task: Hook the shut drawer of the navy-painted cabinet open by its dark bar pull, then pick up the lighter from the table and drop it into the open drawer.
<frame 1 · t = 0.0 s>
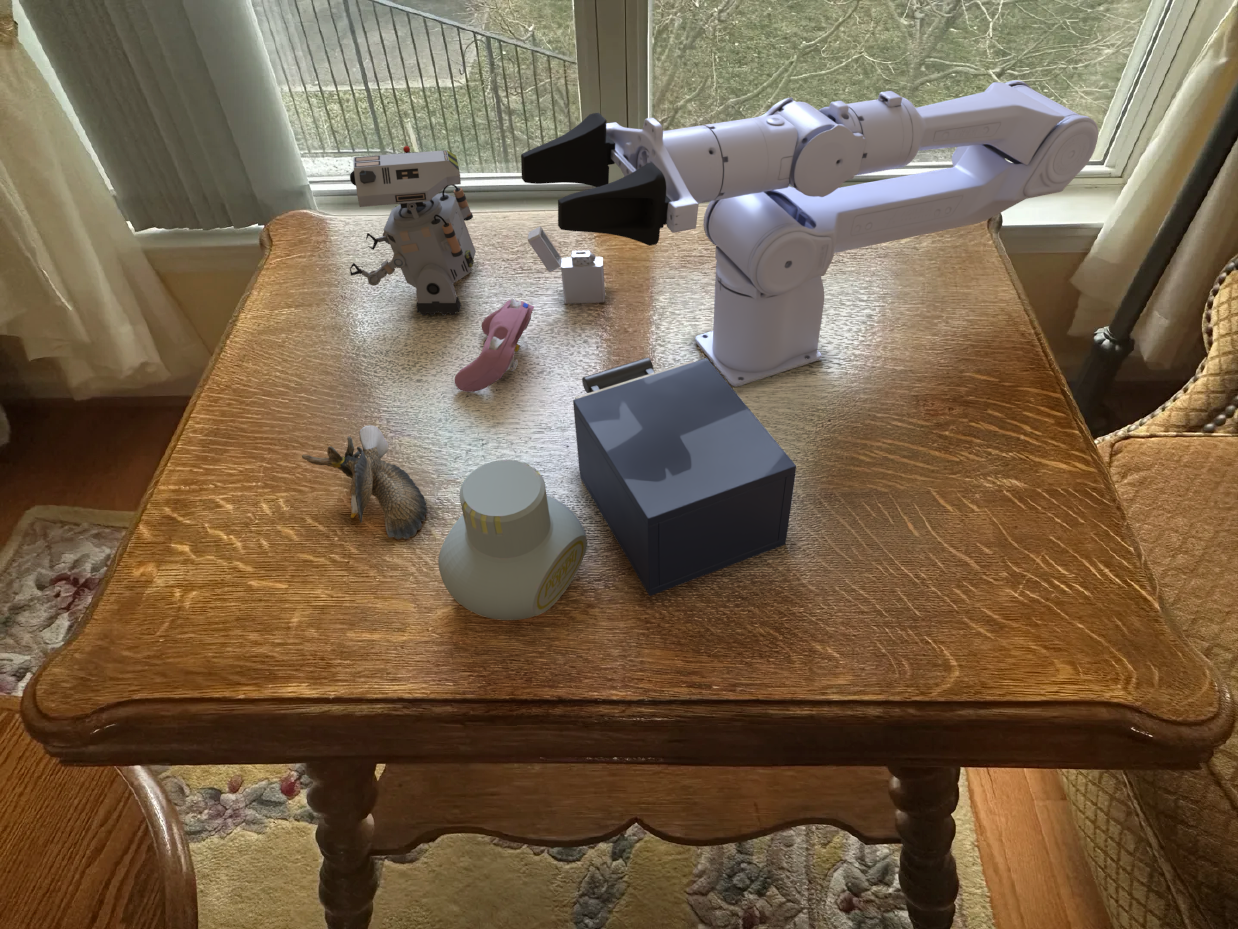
hand: (540, 190, 69), 22 cm above the table, tool horizontal, fingers open, 7 cm apart
eagle figurine: (377, 508, 77), on the table
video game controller: (500, 366, 89), on the table
air freshener: (518, 580, 71), on the table
drawer: (657, 440, 75), point 4 cm above the table, slide at 0.0 cm, touching cabinet
cabinet: (678, 509, 75), on the table
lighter: (570, 299, 97), on the table
figurine: (426, 292, 98), on the table
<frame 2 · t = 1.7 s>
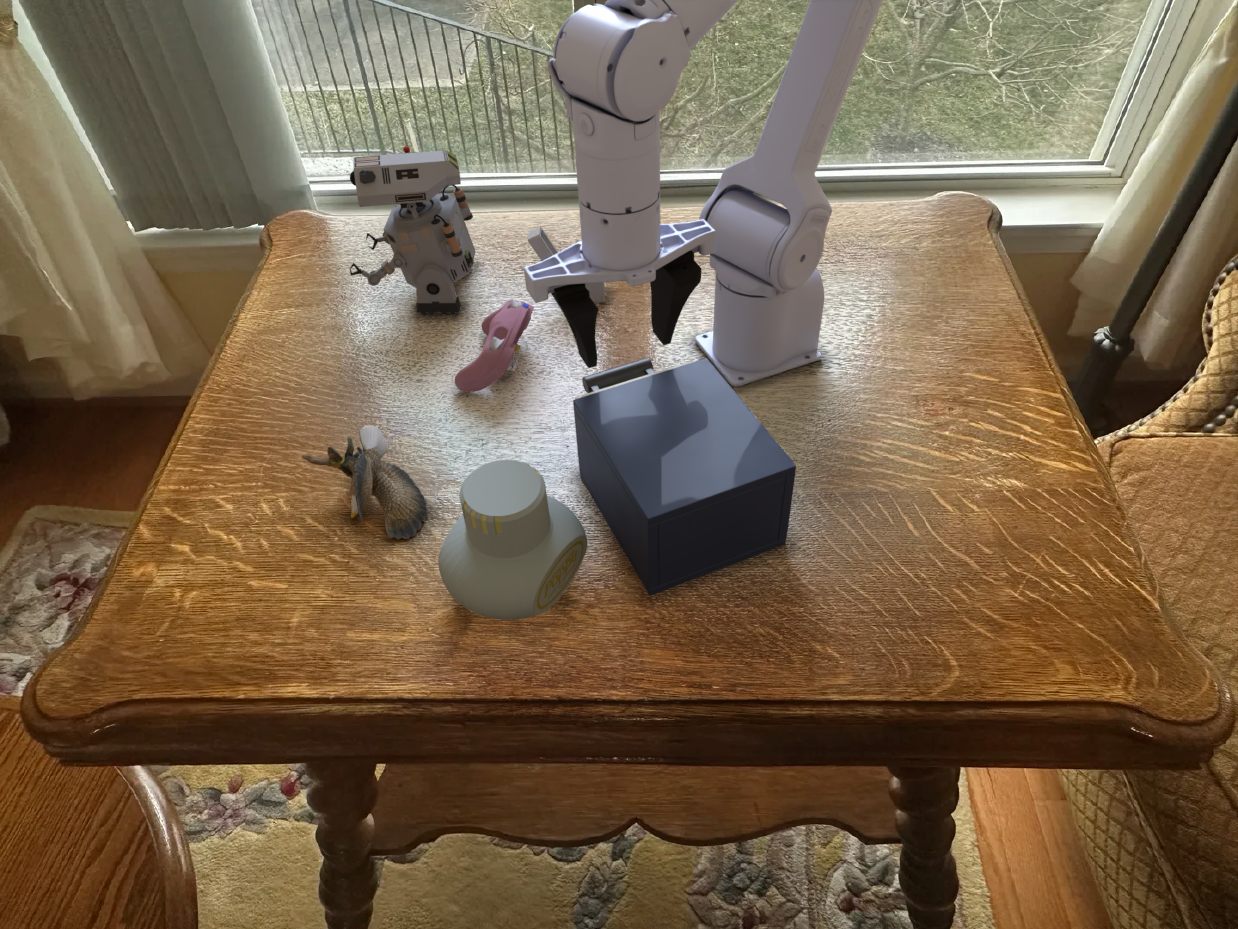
hand: (625, 348, 75), 9 cm above the table, tool pointing down, fingers open, 6 cm apart
nothing on the table moved.
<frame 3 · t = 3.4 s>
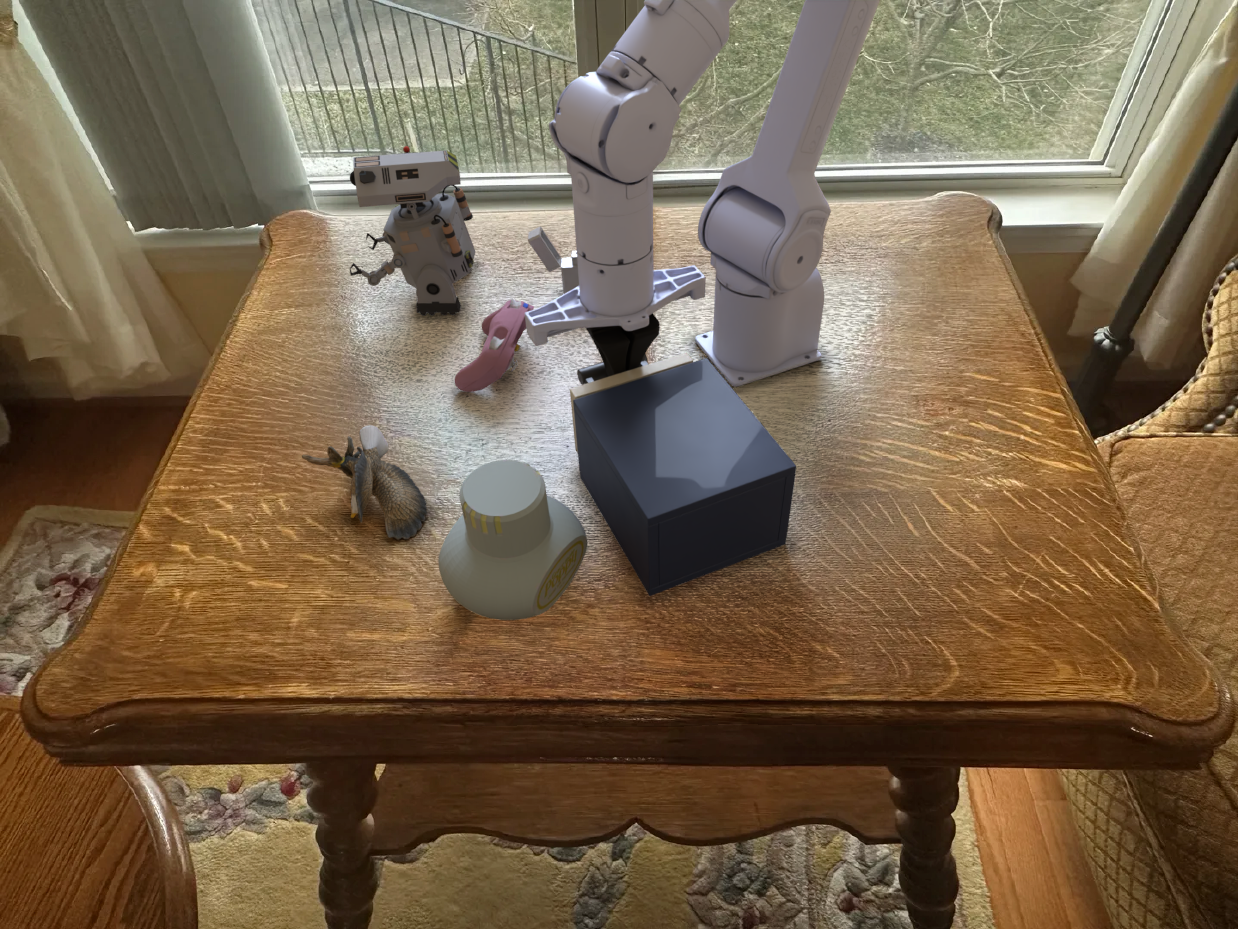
hand: (620, 385, 79), 5 cm above the table, tool pointing down, fingers closed, pressing on drawer
drawer: (651, 431, 75), point 4 cm above the table, slide at 1.2 cm, touching gripper
everything else where it was.
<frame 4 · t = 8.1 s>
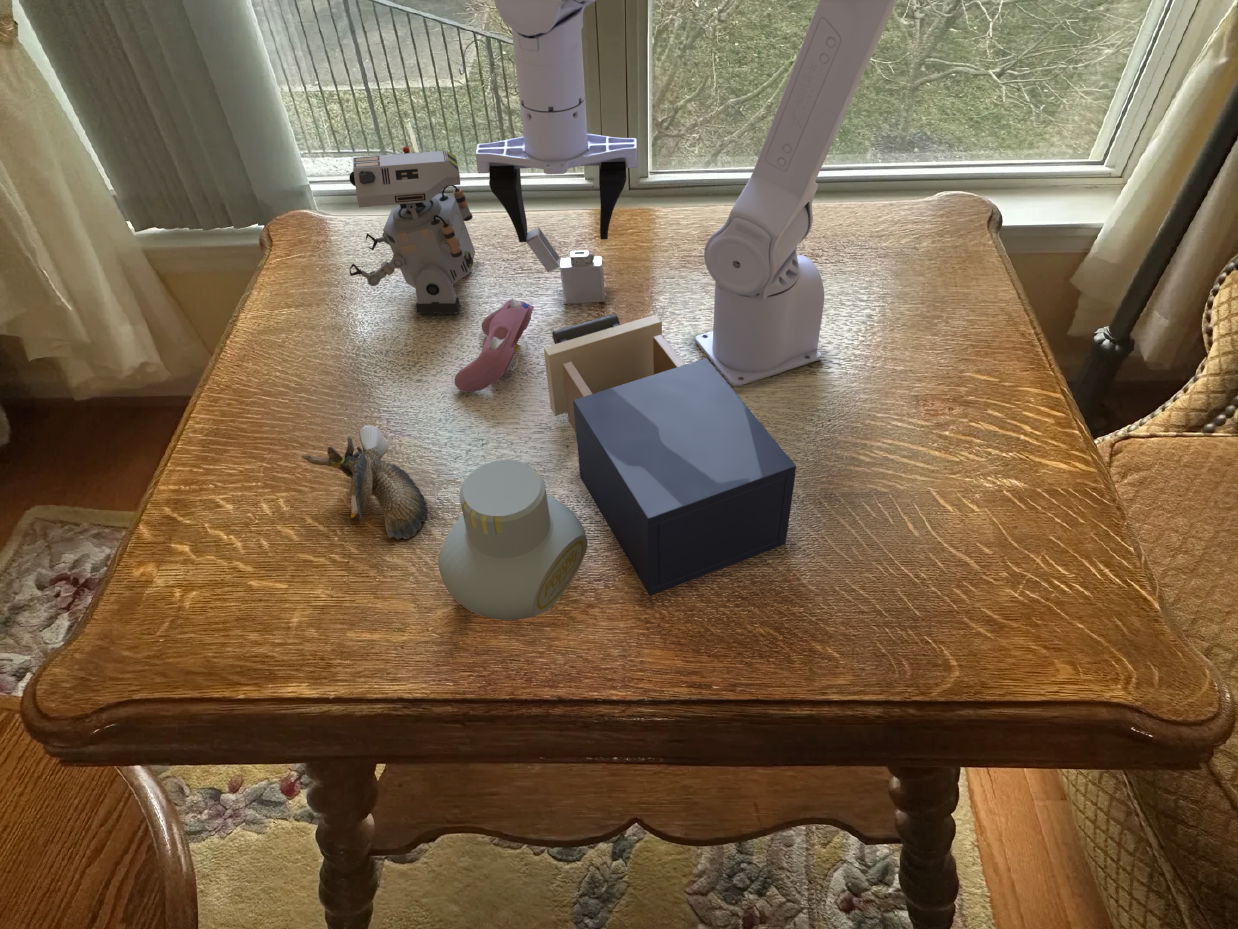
hand: (563, 235, 91), 7 cm above the table, tool pointing down, fingers open, 7 cm apart
drawer: (621, 389, 79), point 4 cm above the table, slide at 7.0 cm
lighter: (570, 300, 97), on the table, touching gripper
everything else where it was.
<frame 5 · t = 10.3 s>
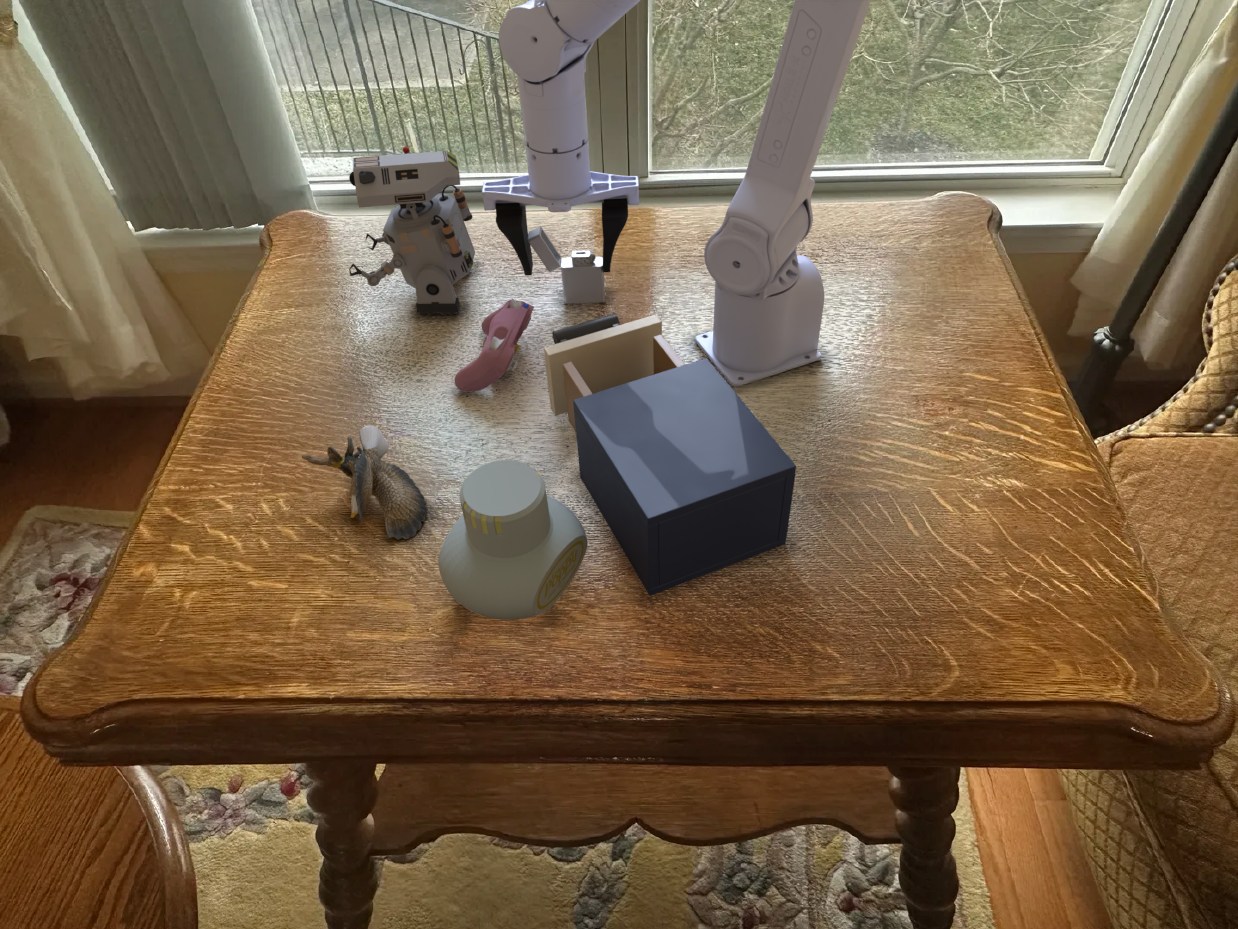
hand: (567, 268, 94), 4 cm above the table, tool pointing down, fingers closed on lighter, 7 cm apart
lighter: (570, 299, 97), on the table, touching gripper
everything else where it was.
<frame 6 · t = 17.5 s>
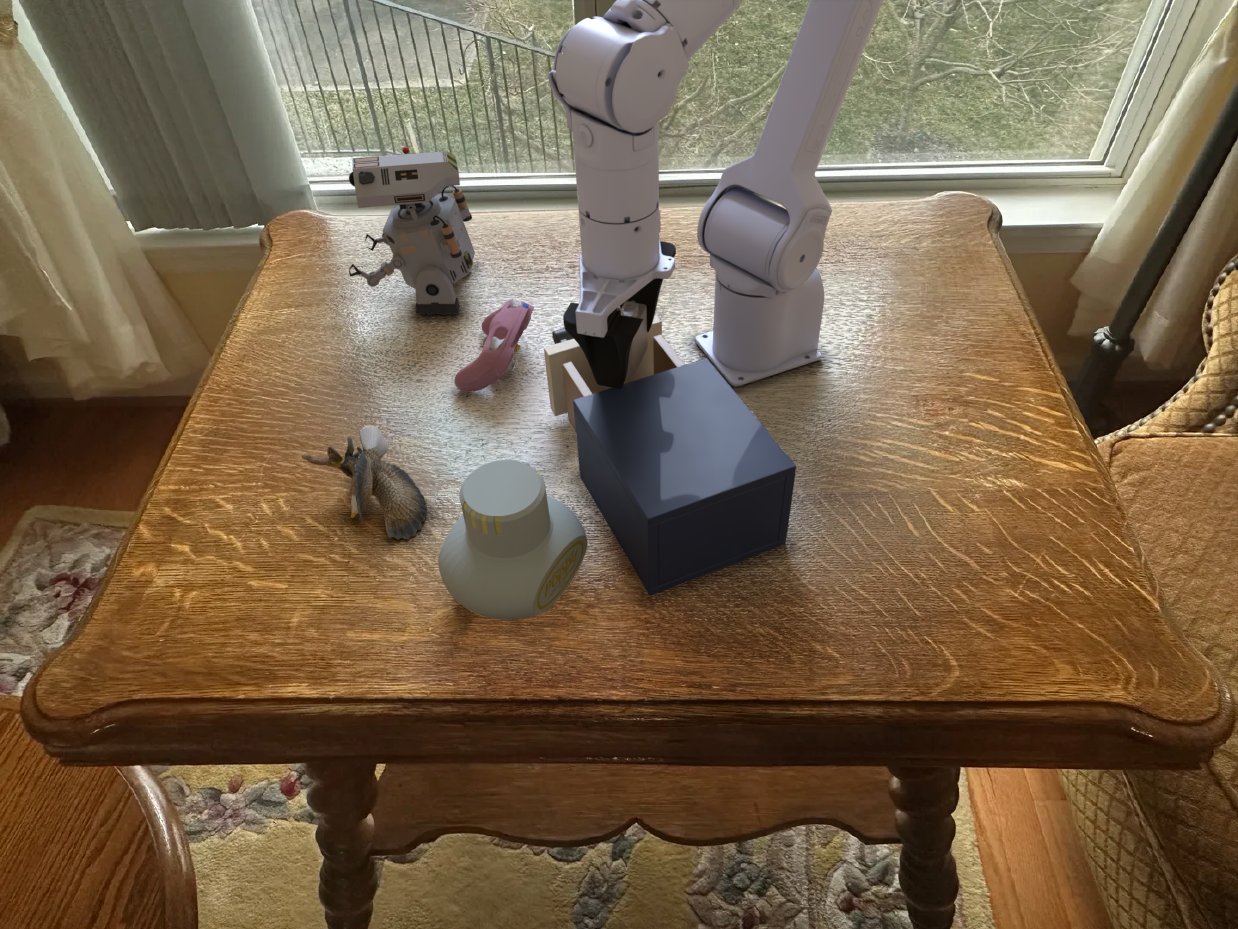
hand: (624, 355, 76), 9 cm above the table, tool pointing down, fingers closed on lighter, 7 cm apart
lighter: (624, 372, 77), point 7 cm above the table, touching gripper
everything else where it was.
when the fingers open (10 cm above the table, at t = 25.1 s): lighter drops 3 cm, resting on drawer.
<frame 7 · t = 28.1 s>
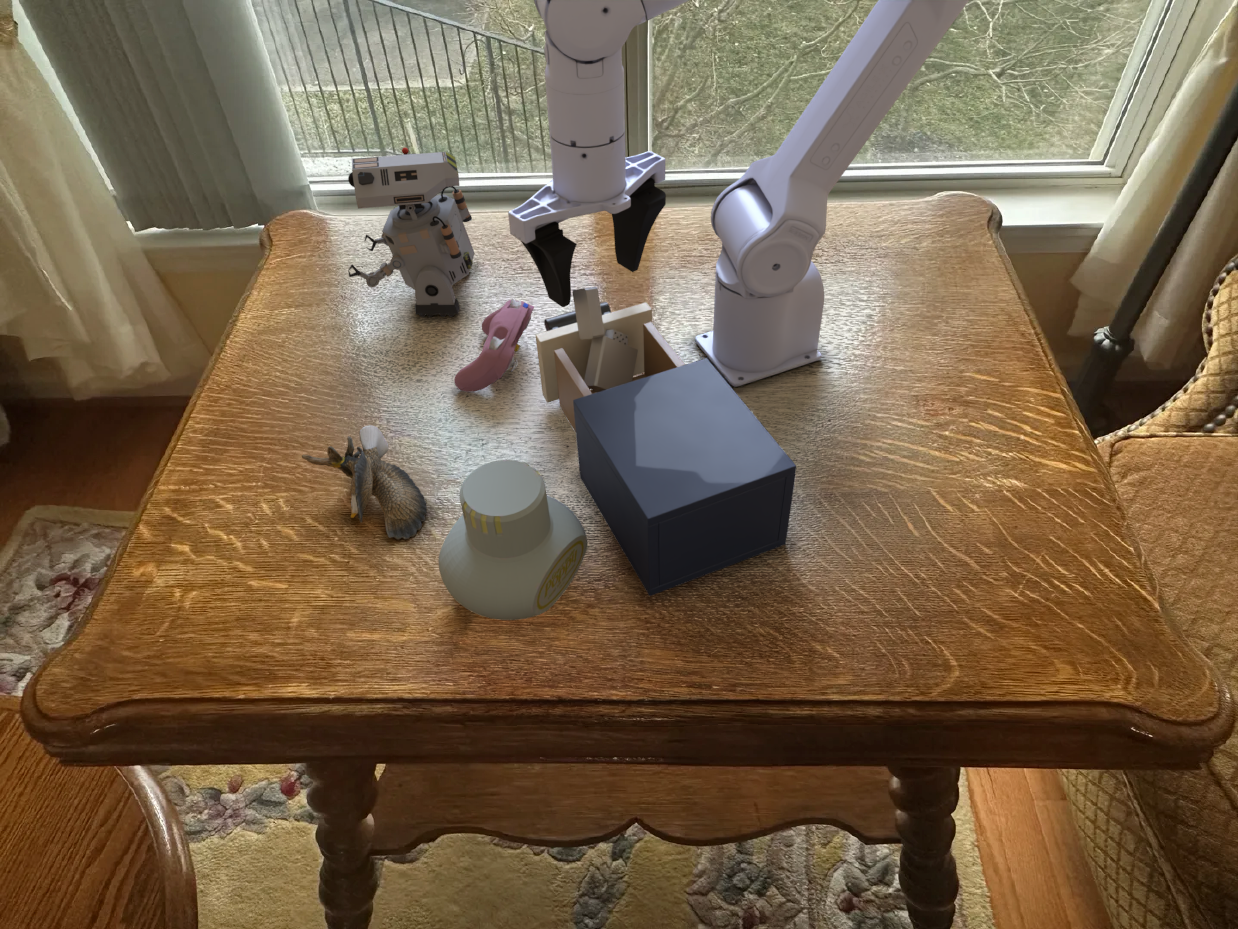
hand: (594, 283, 80), 10 cm above the table, tool pointing down, fingers open, 7 cm apart
drawer: (612, 375, 81), point 4 cm above the table, slide at 9.0 cm, touching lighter
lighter: (593, 389, 79), point 5 cm above the table, touching drawer
everything else where it was.
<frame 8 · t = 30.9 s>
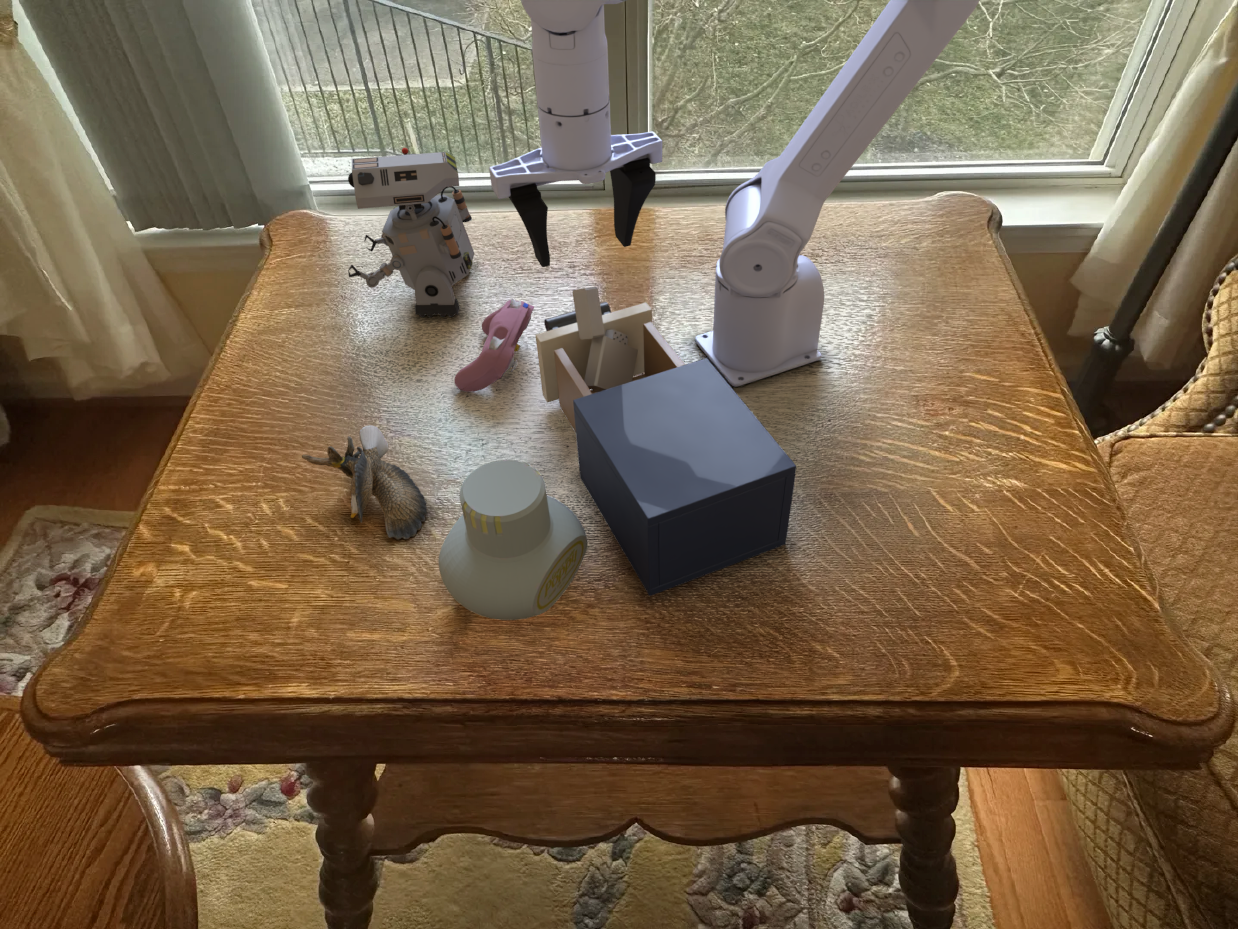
hand: (583, 250, 84), 10 cm above the table, tool pointing down, fingers open, 7 cm apart
nothing on the table moved.
at the end: drawer slide at 9.0 cm; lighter inside the target area in the cabinet (8.5 cm from its centre), point 4.5 cm above the cabinet's base; the gripper is holding nothing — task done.
